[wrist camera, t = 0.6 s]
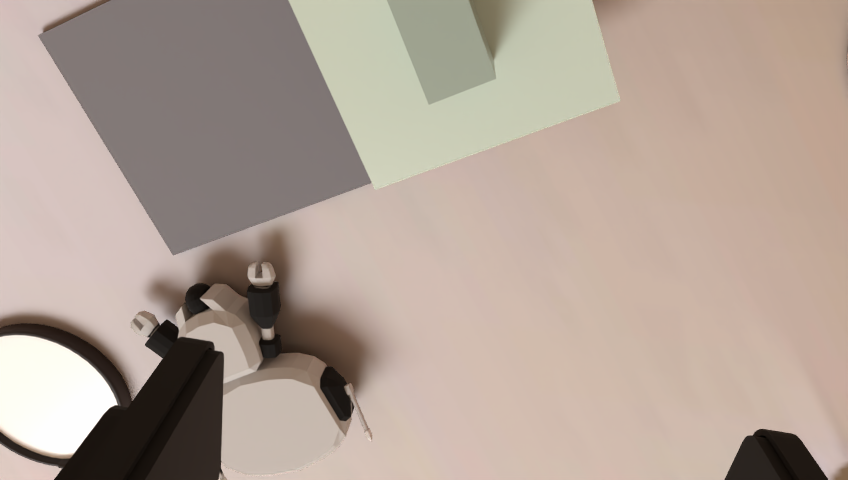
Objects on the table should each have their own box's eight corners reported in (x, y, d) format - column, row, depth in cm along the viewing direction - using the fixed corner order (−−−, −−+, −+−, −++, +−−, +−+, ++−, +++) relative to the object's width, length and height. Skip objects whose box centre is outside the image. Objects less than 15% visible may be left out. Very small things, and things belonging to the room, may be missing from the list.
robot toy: (140, 299, 46) (247, 459, 50) (104, 330, 42) (224, 502, 46) (285, 235, 43) (386, 411, 47) (261, 262, 38) (375, 453, 43)
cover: (535, -195, 27) (547, -223, 22) (618, 98, 31) (642, 125, 27) (263, -64, 29) (223, -65, 25) (376, 186, 34) (361, 223, 30)
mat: (266, -75, 34) (264, -75, 33) (380, 177, 39) (379, 179, 39) (42, 34, 37) (38, 35, 37) (175, 252, 43) (173, 255, 42)
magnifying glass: (135, 561, 57) (123, 583, 55) (-56, 353, 49) (-78, 370, 47) (249, 522, 54) (240, 544, 52) (64, 293, 46) (45, 308, 44)
